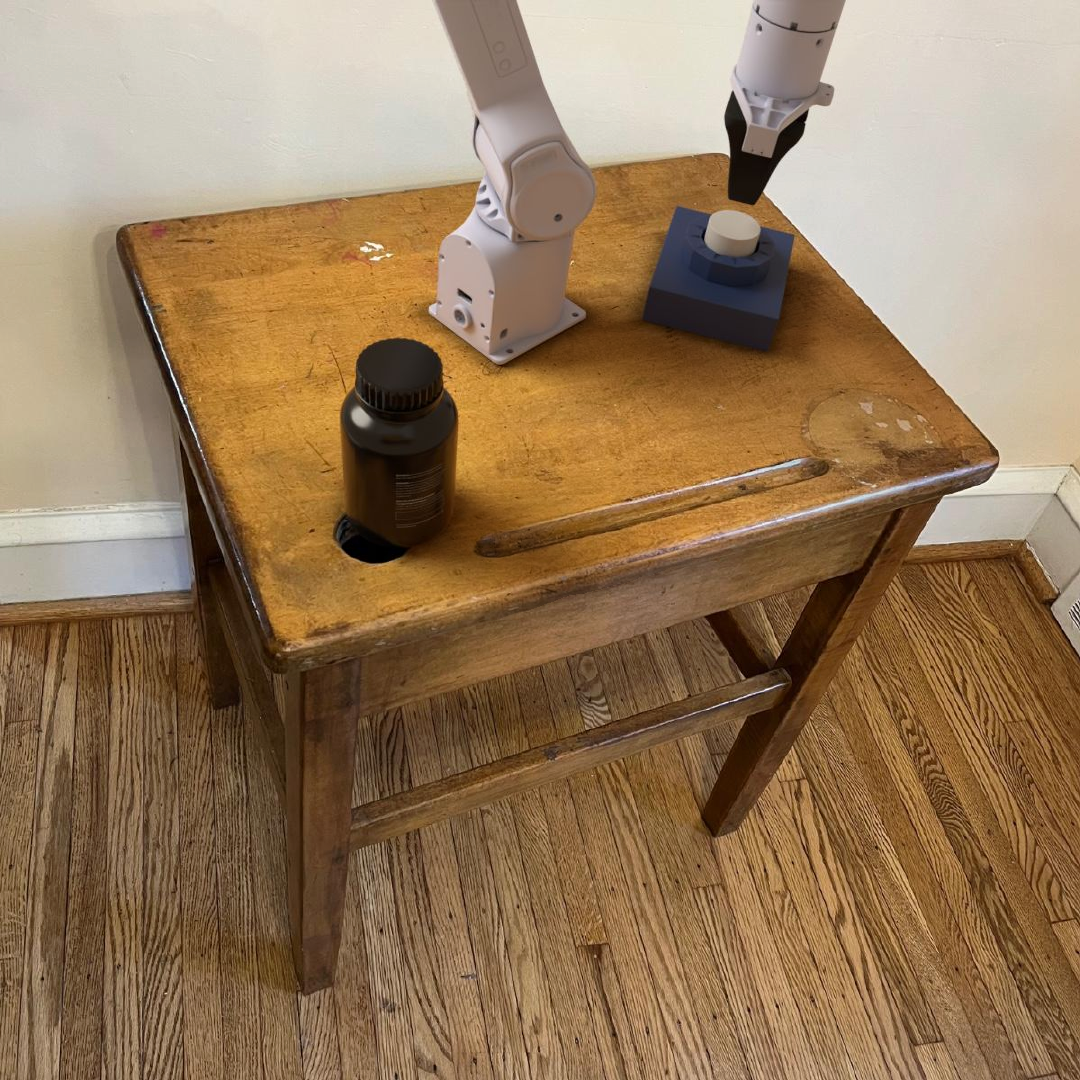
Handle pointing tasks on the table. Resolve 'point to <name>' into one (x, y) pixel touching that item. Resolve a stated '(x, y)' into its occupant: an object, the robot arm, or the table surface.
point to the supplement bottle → (399, 445)
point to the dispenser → (718, 284)
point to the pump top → (732, 233)
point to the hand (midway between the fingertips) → (742, 198)
